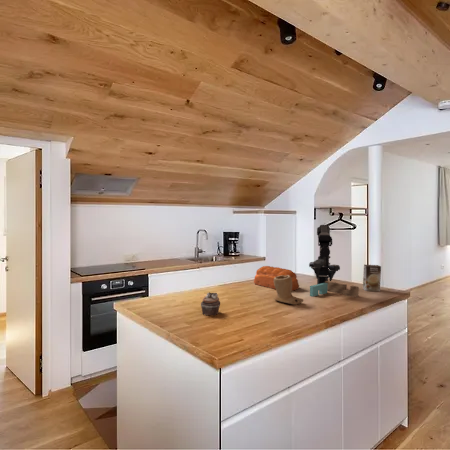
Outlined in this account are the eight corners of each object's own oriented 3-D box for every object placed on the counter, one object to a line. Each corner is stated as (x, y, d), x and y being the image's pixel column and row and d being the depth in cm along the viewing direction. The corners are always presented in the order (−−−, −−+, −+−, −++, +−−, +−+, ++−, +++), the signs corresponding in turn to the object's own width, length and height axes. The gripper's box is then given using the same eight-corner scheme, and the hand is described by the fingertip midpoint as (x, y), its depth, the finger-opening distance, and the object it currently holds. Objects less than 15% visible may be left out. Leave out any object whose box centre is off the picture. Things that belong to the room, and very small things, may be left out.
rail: (324, 290, 222) (324, 281, 222) (326, 290, 223) (326, 280, 223) (356, 297, 205) (356, 287, 205) (358, 296, 206) (358, 286, 206)
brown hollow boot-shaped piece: (268, 301, 195) (269, 274, 194) (283, 298, 202) (283, 272, 201) (289, 307, 183) (289, 279, 182) (304, 303, 190) (304, 276, 189)
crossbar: (312, 296, 206) (312, 286, 206) (309, 296, 207) (309, 286, 207) (327, 292, 215) (327, 283, 215) (324, 292, 217) (324, 282, 217)
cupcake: (201, 310, 177) (201, 290, 176) (220, 310, 176) (220, 291, 176) (199, 316, 167) (199, 295, 167) (219, 316, 167) (219, 295, 166)
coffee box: (365, 291, 221) (366, 266, 221) (362, 288, 228) (363, 264, 227) (380, 291, 220) (381, 266, 220) (377, 289, 227) (377, 264, 226)
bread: (266, 281, 251) (267, 263, 250) (302, 289, 227) (302, 269, 226) (251, 284, 241) (251, 265, 240) (286, 292, 217) (286, 271, 216)
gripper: (303, 254, 216) (303, 279, 216) (329, 257, 201) (329, 284, 202) (314, 252, 223) (314, 276, 224) (340, 256, 208) (340, 281, 209)
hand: (323, 279), depth 214 cm, fingers open, 9 cm apart
